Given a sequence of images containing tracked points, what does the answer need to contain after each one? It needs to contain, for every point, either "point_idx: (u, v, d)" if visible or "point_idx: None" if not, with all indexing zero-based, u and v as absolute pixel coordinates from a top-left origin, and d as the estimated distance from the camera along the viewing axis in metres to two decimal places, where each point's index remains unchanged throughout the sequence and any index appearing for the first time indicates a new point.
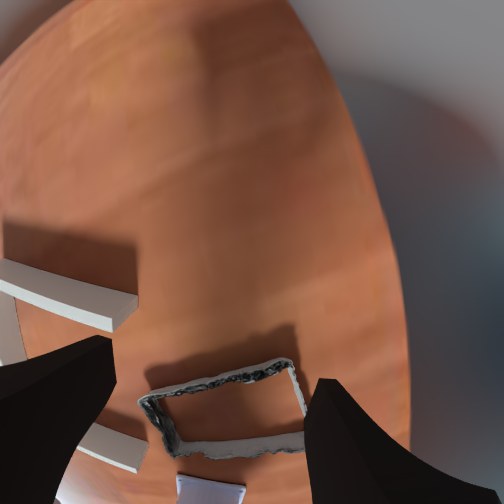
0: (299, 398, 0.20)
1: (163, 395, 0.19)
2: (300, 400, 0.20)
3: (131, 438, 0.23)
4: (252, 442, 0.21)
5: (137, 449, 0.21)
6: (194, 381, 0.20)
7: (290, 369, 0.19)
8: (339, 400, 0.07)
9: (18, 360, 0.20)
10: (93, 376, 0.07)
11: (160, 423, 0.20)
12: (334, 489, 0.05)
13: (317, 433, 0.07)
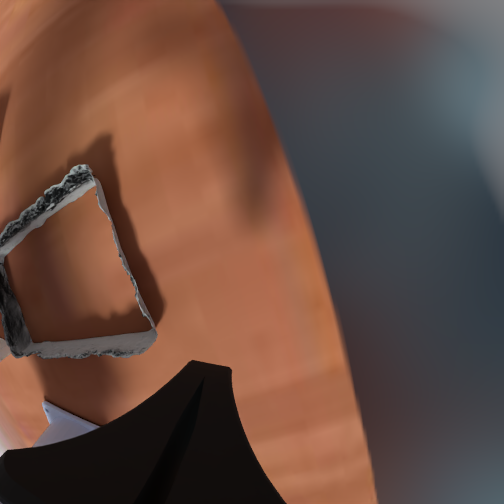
0: (123, 255, 0.14)
1: None
2: (124, 258, 0.14)
3: None
4: (88, 342, 0.15)
5: None
6: (25, 234, 0.14)
7: (105, 199, 0.13)
8: (212, 386, 0.07)
9: None
10: (199, 406, 0.07)
11: (0, 297, 0.14)
12: None
13: None
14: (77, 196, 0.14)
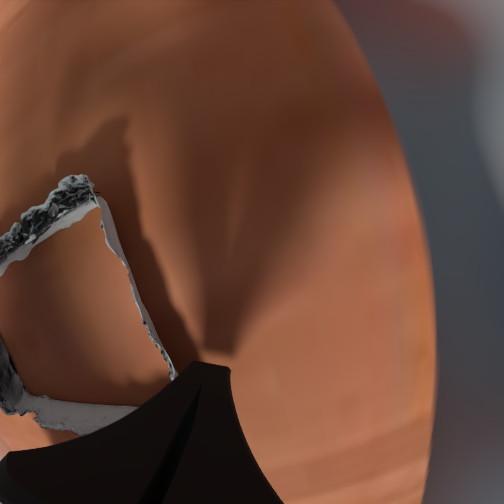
0: (147, 315, 0.09)
1: None
2: (149, 320, 0.09)
3: None
4: (98, 412, 0.11)
5: None
6: (3, 267, 0.10)
7: (115, 229, 0.09)
8: (210, 386, 0.07)
9: None
10: None
11: None
12: None
13: None
14: (71, 221, 0.09)
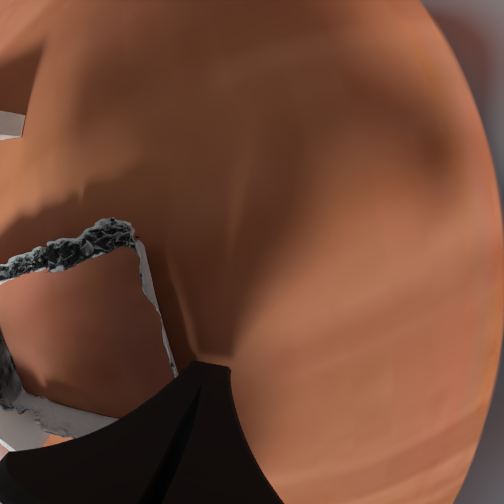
0: (171, 353, 0.10)
1: None
2: (172, 358, 0.10)
3: None
4: (102, 423, 0.11)
5: (33, 426, 0.11)
6: None
7: None
8: (210, 386, 0.07)
9: None
10: None
11: None
12: None
13: None
14: None
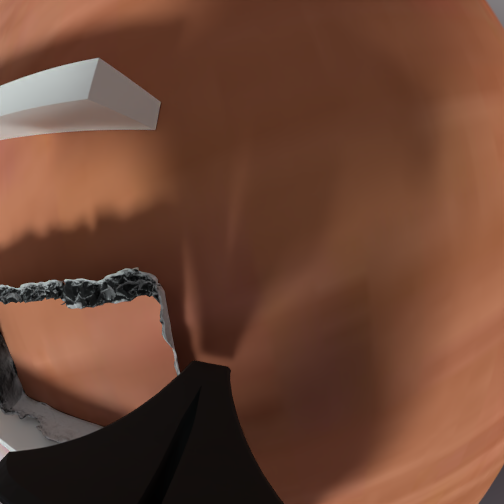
0: None
1: None
2: None
3: None
4: None
5: None
6: None
7: None
8: (210, 386, 0.07)
9: None
10: None
11: None
12: None
13: None
14: None
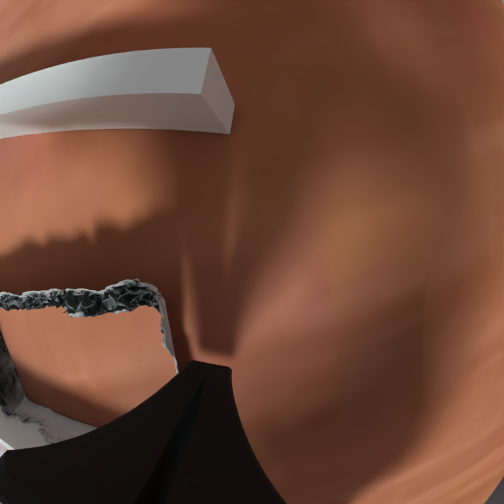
0: None
1: None
2: None
3: None
4: None
5: None
6: None
7: None
8: (212, 386, 0.07)
9: None
10: None
11: None
12: None
13: None
14: None
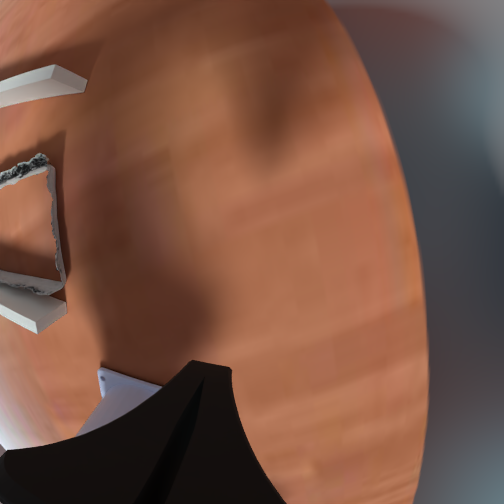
0: (56, 223, 0.17)
1: None
2: (56, 226, 0.17)
3: (48, 297, 0.18)
4: (23, 277, 0.18)
5: (49, 306, 0.17)
6: (2, 186, 0.17)
7: (54, 180, 0.16)
8: (212, 386, 0.07)
9: None
10: (199, 406, 0.07)
11: None
12: None
13: None
14: (39, 172, 0.16)
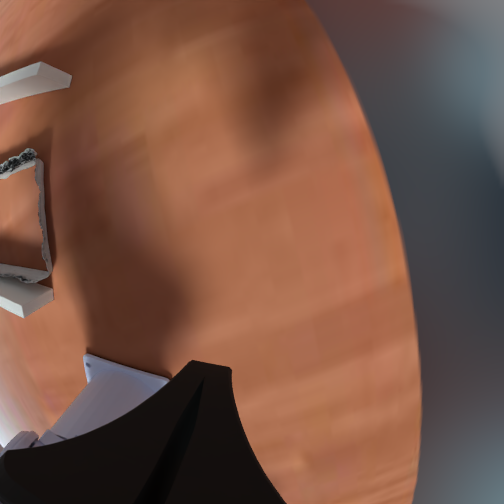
0: (43, 215, 0.17)
1: None
2: (43, 217, 0.17)
3: (36, 285, 0.19)
4: (13, 268, 0.18)
5: (36, 292, 0.17)
6: None
7: (42, 174, 0.16)
8: (212, 386, 0.07)
9: None
10: (199, 406, 0.07)
11: None
12: None
13: None
14: (29, 166, 0.17)
